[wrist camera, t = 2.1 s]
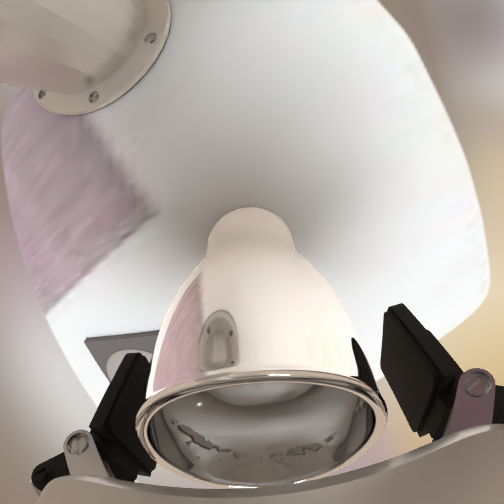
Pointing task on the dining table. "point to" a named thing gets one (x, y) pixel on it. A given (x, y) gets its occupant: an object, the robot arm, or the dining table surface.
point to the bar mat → (120, 349)
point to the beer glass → (257, 367)
